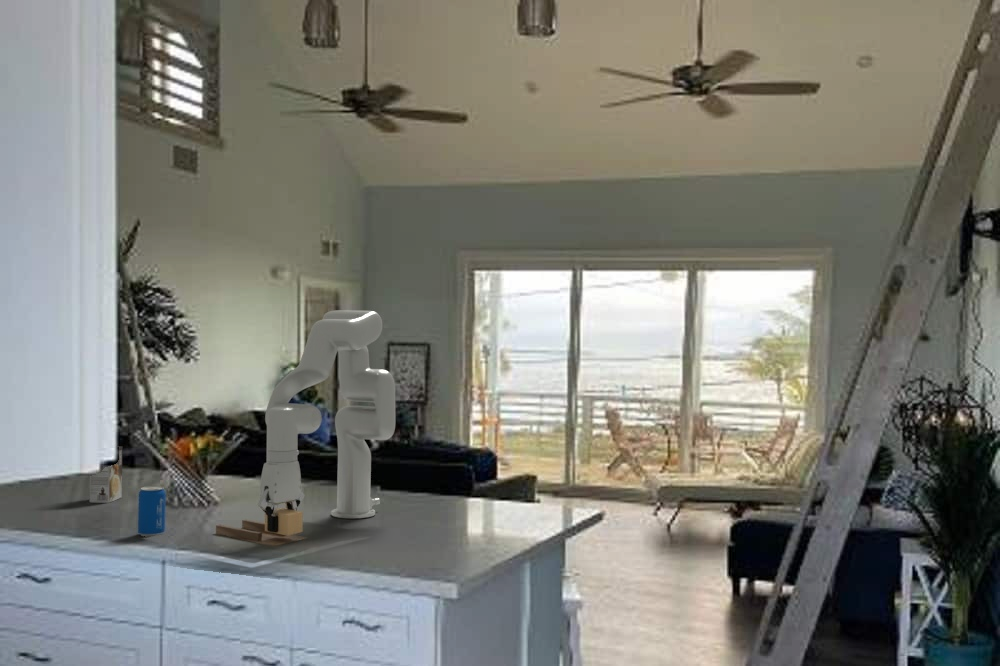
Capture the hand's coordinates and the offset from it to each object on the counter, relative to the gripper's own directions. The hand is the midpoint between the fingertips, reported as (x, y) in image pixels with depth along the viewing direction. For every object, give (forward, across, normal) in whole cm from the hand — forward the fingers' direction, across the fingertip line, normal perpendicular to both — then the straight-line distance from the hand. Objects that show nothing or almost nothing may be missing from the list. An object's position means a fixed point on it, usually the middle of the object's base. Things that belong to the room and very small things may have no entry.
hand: (281, 528), depth 236 cm
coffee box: (+4, -8, -85) cm, 85 cm away
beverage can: (+4, +14, -33) cm, 36 cm away
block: (+1, 0, +1) cm, 1 cm away
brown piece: (+4, 0, -7) cm, 8 cm away
